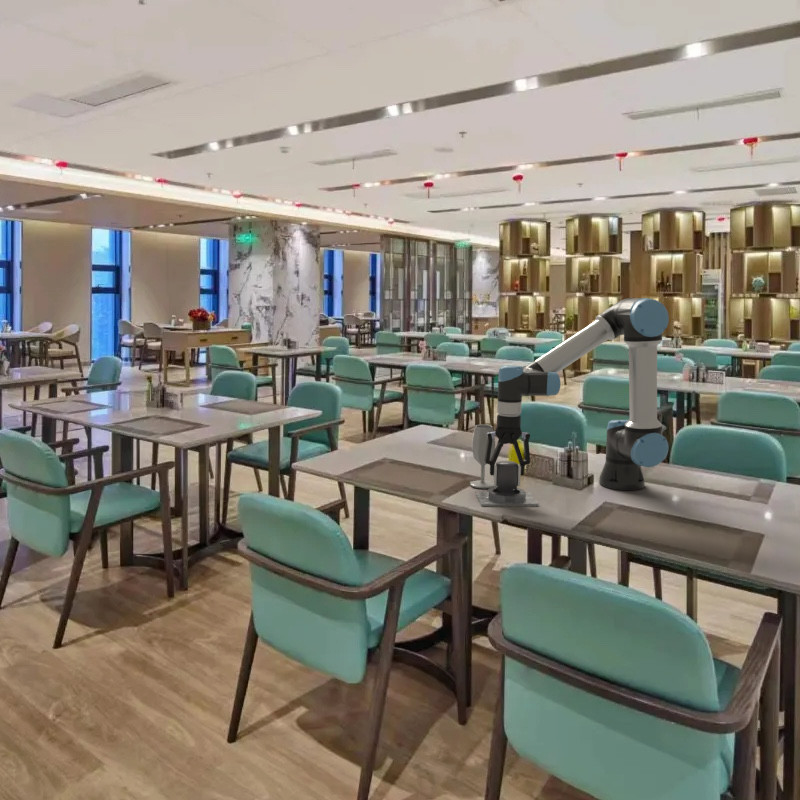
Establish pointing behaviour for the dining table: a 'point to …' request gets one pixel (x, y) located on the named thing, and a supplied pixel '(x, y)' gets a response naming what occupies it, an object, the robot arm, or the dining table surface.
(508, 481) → the dark grey cylinder
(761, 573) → the dining table surface
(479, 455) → the wineglass
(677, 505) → the dining table surface
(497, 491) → the gray tray with ring
